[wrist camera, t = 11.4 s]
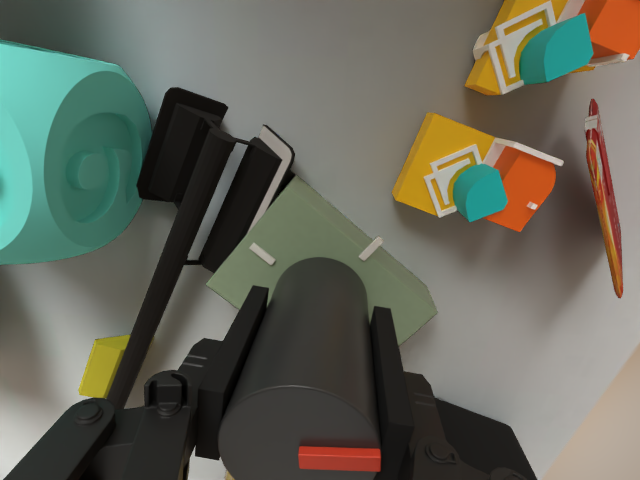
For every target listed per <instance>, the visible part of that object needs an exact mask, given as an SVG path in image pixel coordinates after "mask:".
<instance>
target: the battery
mask: <svg viewBox="0 0 640 480" xmlns="http://www.w3.org/2000/svg"><path fill="white" fill-rule="evenodd" d="M433 398H434V397H433ZM434 399H435V403H436V408H437V410H438V413H439V417H440V420H441V424H442V427H443V430H444V434H445V437H446V441H447V442H448V443H449V444H450V445H451V446H452V447H454V449H455V450H456V452H457V453H458V455H459V458H460V460H462V461H463V462H464V463H466V464H468V465H469V466H471V467H473V468H475V469H478V470H480V471H482V472H484V473H486V474H489V475H490V474H491V471H492V470H494V469H496V468H497V467H505V468H508V469H511V470H514V471H516V472H518V473H519V474H521V475H522V476H524V477H525V478H526V479H527V480H537V478H536V476H535V474H534V472H533V470H532V468H531V466H530V464H529V462H528V460H527V458H526V456H525V454H524V452H523V450H522V448H521V446H520V444H519V442H518V440H517V438H516V436H515V434H514V432H513V430H512V429H511V427H510V426H508V425H506V424H504V423H501V422H498V421H496V420H493V419H490V418H488V417H485V416H482V415H480V414H477V413H474V412H472V411H469V410H466V409H463V408H461V407H458V406H455V405H453V404H450V403H447V402H445V401H442V400H439V399H437V398H434Z"/></svg>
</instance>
